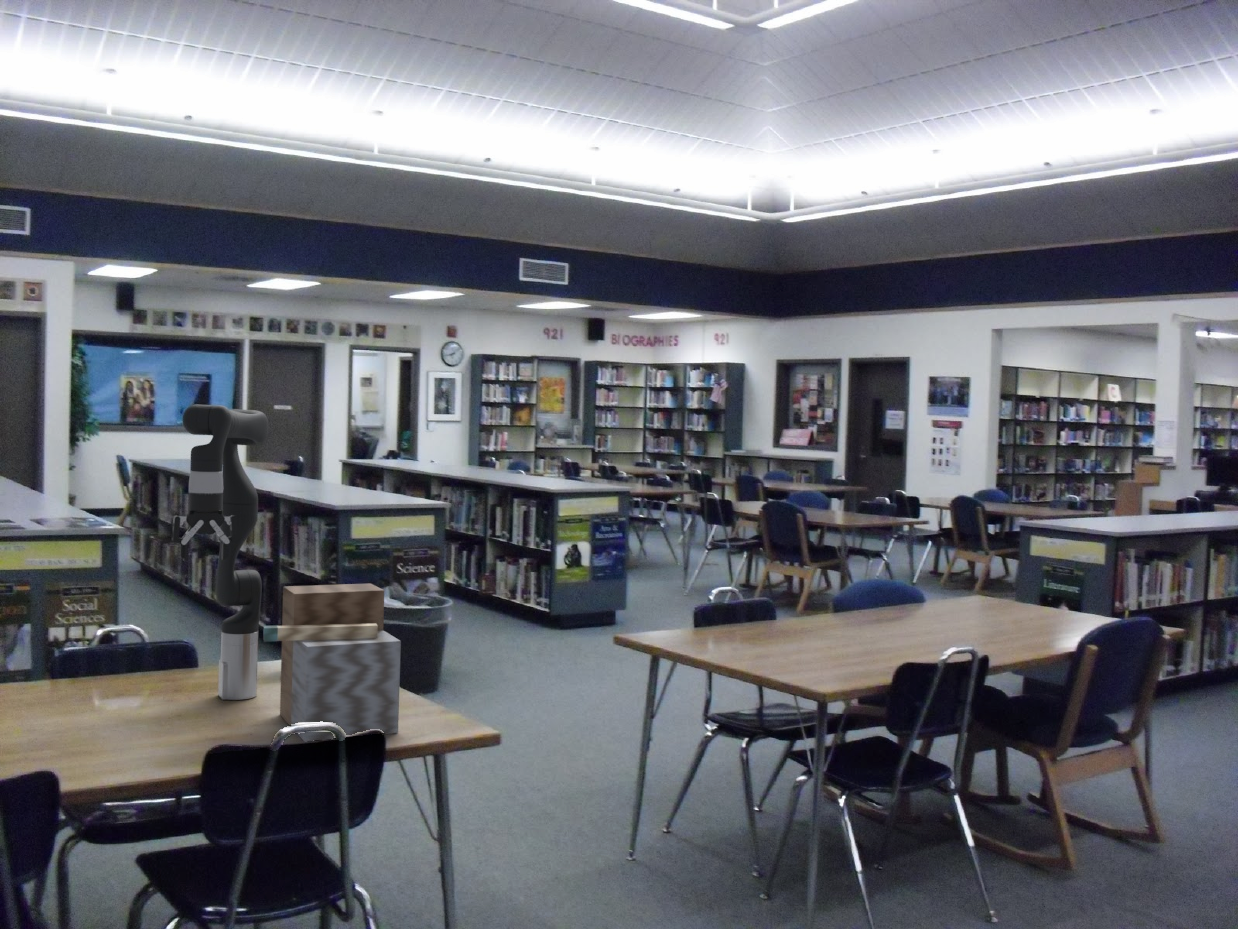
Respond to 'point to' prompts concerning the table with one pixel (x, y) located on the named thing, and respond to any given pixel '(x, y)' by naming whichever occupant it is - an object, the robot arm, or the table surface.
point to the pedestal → (339, 662)
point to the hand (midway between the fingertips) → (204, 560)
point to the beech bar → (320, 632)
